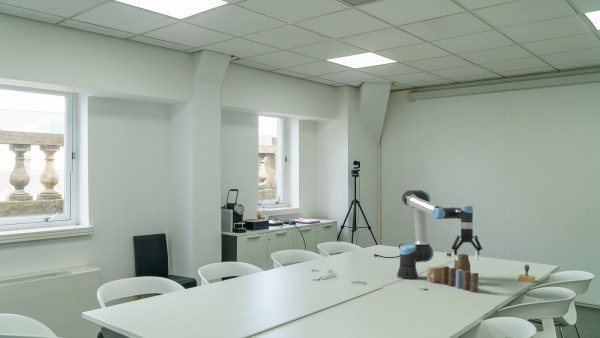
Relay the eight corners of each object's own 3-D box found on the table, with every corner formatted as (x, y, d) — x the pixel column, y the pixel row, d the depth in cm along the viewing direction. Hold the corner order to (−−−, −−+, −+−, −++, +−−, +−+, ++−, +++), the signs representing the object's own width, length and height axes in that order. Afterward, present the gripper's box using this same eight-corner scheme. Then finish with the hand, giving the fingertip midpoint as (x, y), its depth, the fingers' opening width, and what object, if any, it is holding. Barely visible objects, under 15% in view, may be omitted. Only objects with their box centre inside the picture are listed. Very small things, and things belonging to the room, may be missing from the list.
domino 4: (462, 289, 308) (463, 271, 309) (467, 288, 311) (468, 271, 311) (465, 290, 307) (465, 272, 307) (470, 289, 309) (470, 271, 309)
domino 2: (448, 285, 319) (448, 268, 319) (453, 284, 321) (453, 267, 321) (450, 286, 317) (451, 269, 317) (455, 285, 319) (456, 268, 319)
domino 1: (441, 283, 324) (441, 266, 324) (446, 283, 326) (446, 266, 326) (444, 284, 322) (444, 267, 322) (448, 283, 324) (449, 266, 325)
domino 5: (470, 291, 303) (470, 273, 303) (475, 290, 306) (475, 272, 306) (473, 292, 302) (473, 274, 302) (478, 291, 304) (478, 273, 304)
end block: (427, 281, 330) (427, 267, 330) (438, 279, 337) (438, 265, 337) (433, 283, 325) (433, 269, 325) (445, 281, 332) (445, 267, 332)
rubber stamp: (534, 281, 339) (535, 264, 339) (533, 282, 334) (533, 266, 335) (520, 279, 345) (520, 263, 345) (518, 280, 341) (518, 264, 341)
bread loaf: (460, 284, 324) (461, 255, 324) (452, 281, 331) (453, 253, 331) (471, 282, 329) (472, 254, 329) (463, 280, 336) (464, 253, 336)
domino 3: (455, 287, 313) (455, 270, 314) (460, 286, 316) (460, 269, 316) (458, 288, 312) (458, 270, 312) (463, 287, 314) (463, 270, 314)
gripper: (450, 228, 305) (450, 261, 305) (487, 229, 307) (487, 261, 306) (446, 227, 313) (446, 259, 312) (482, 227, 314) (482, 259, 314)
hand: (466, 260), depth 309 cm, fingers open, 13 cm apart
